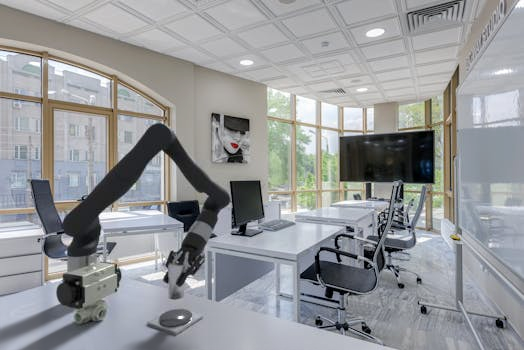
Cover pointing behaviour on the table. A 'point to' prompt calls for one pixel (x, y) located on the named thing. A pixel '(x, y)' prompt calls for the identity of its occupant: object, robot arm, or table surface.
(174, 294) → the grey cylinder
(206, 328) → the table surface
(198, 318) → the flange
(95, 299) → the ball valve
